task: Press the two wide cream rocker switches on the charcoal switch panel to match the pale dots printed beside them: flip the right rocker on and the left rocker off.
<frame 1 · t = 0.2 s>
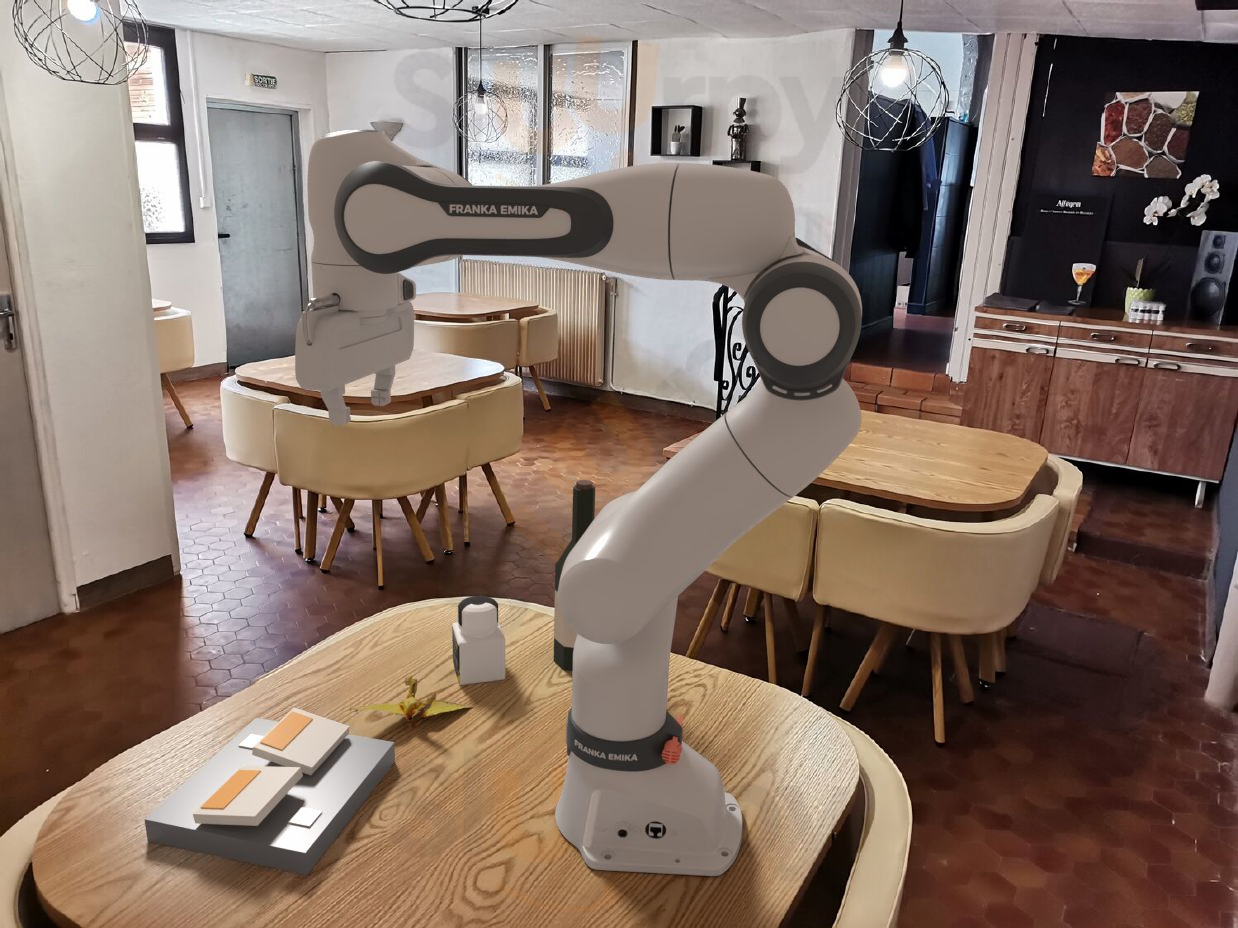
hand: (361, 413, 102), 47 cm above the table, tool pointing down, fingers open, 8 cm apart
right rocker: (302, 739, 114), point 5 cm above the table, hinge at -10.0°
left rocker: (249, 793, 104), point 5 cm above the table, hinge at 10.0°
medicine bottle: (478, 672, 141), on the table
wine bottle: (579, 660, 145), on the table
origami crane: (413, 721, 127), on the table
switch panel: (280, 798, 110), on the table
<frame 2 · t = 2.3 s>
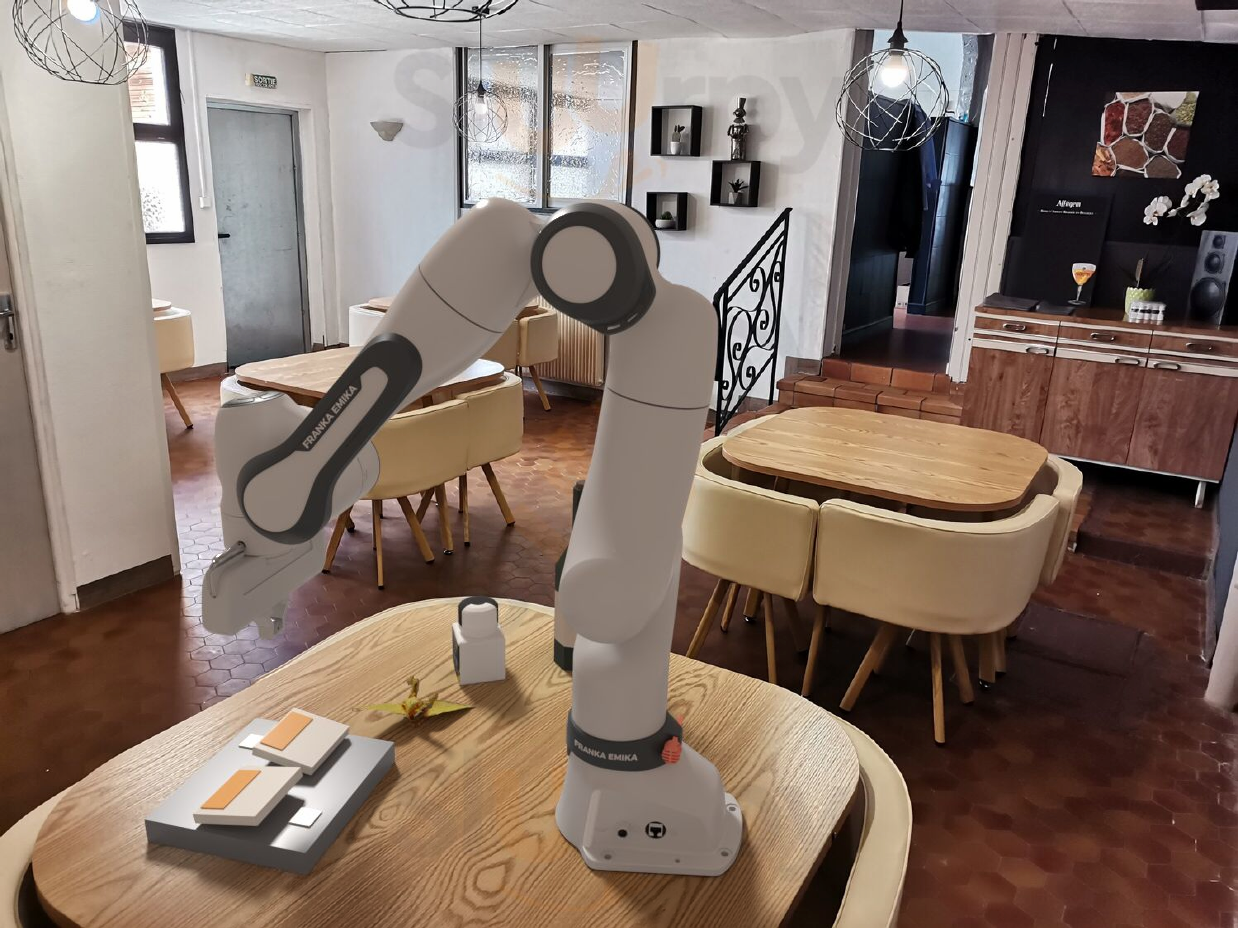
hand: (272, 634, 110), 19 cm above the table, tool pointing down, fingers closed
nothing on the table moved.
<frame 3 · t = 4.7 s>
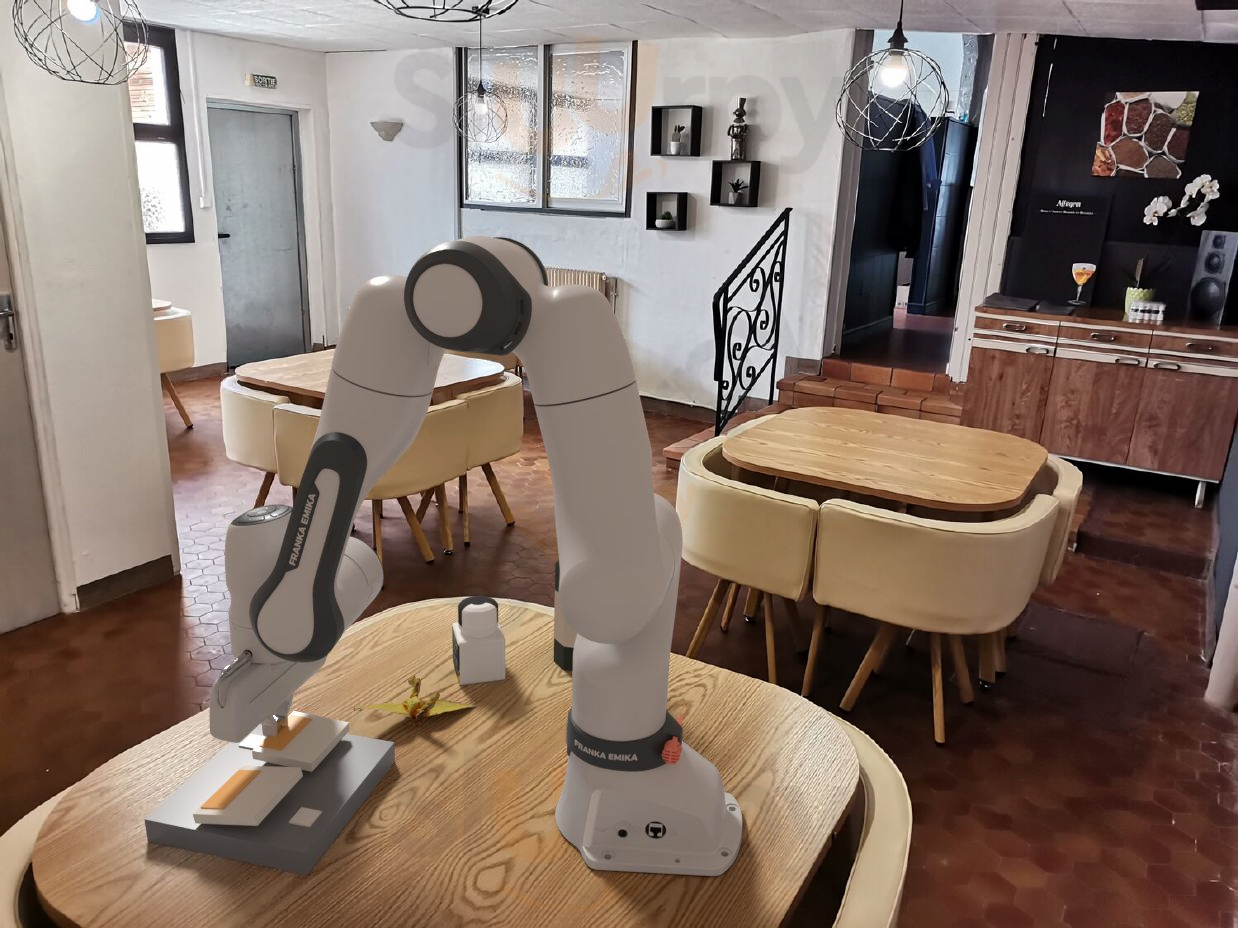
hand: (275, 731, 115), 5 cm above the table, tool pointing down, fingers closed, pressing on right rocker
right rocker: (302, 739, 114), point 5 cm above the table, hinge at -1.8°, touching gripper
everything else where it was.
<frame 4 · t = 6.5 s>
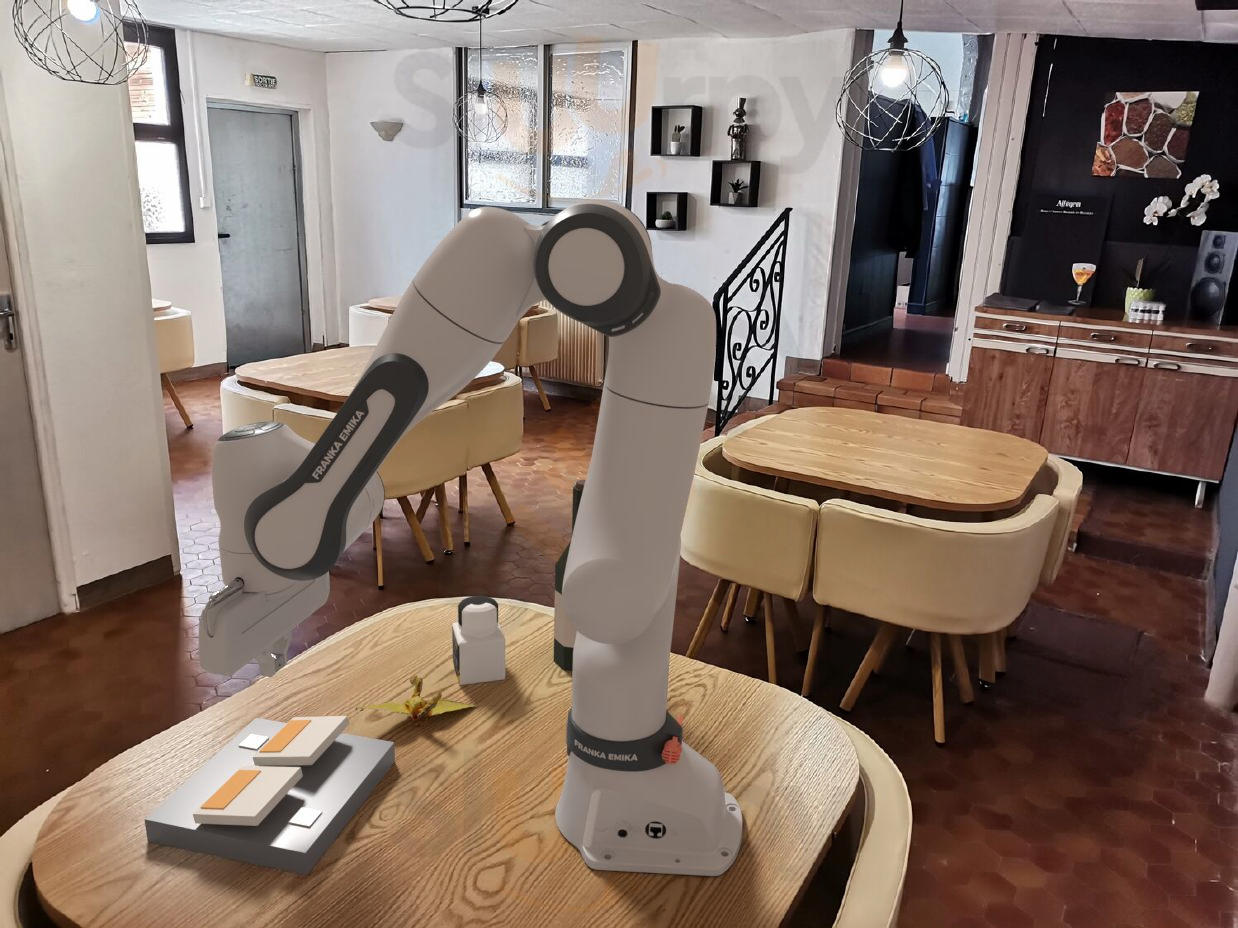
hand: (273, 670, 107), 17 cm above the table, tool pointing down, fingers closed
right rocker: (302, 739, 114), point 5 cm above the table, hinge at 11.7°
everything else where it was.
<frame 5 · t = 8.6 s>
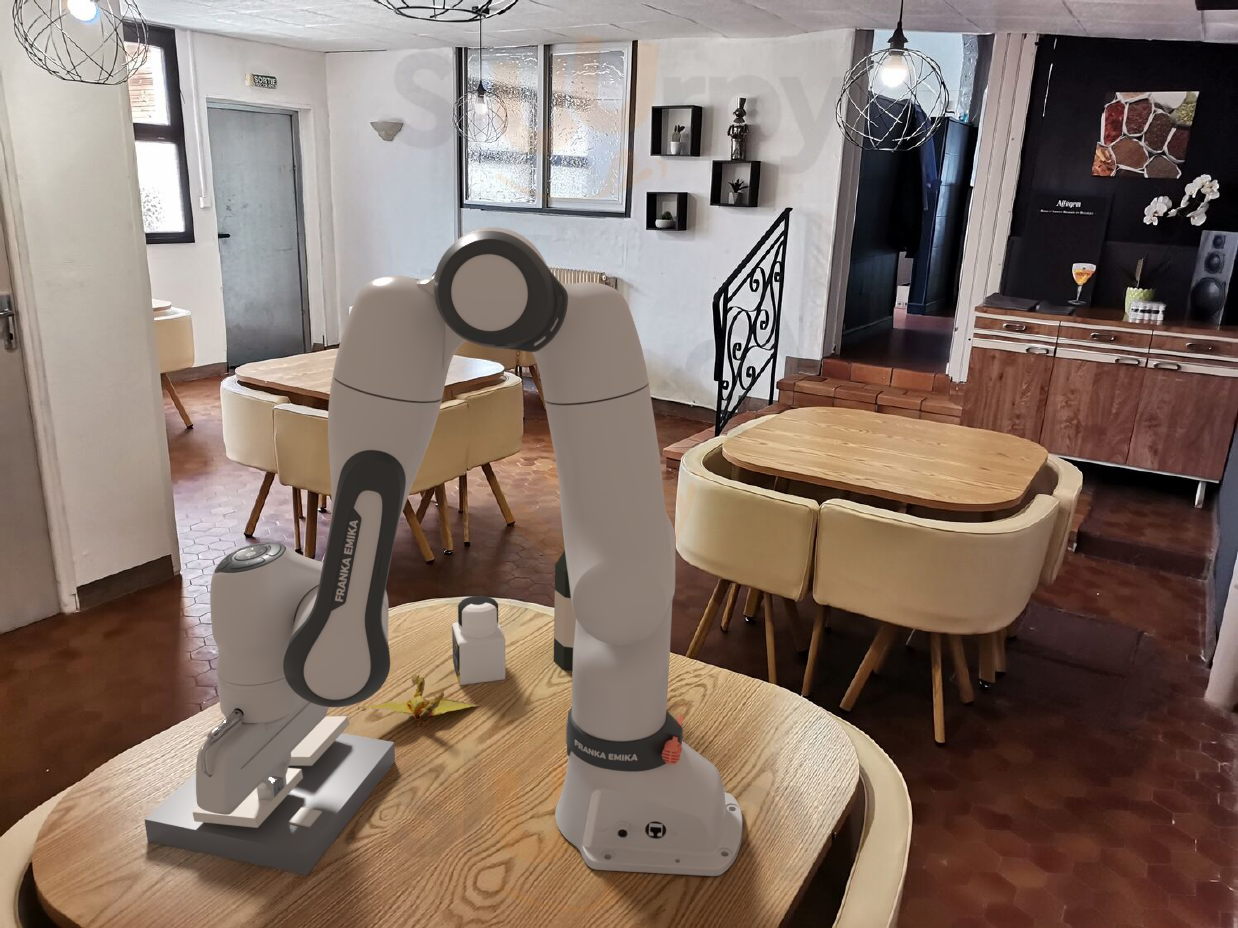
hand: (272, 794, 103), 5 cm above the table, tool pointing down, fingers closed, pressing on left rocker
right rocker: (302, 739, 114), point 5 cm above the table, hinge at 10.7°
left rocker: (249, 793, 104), point 5 cm above the table, hinge at 6.2°, touching gripper
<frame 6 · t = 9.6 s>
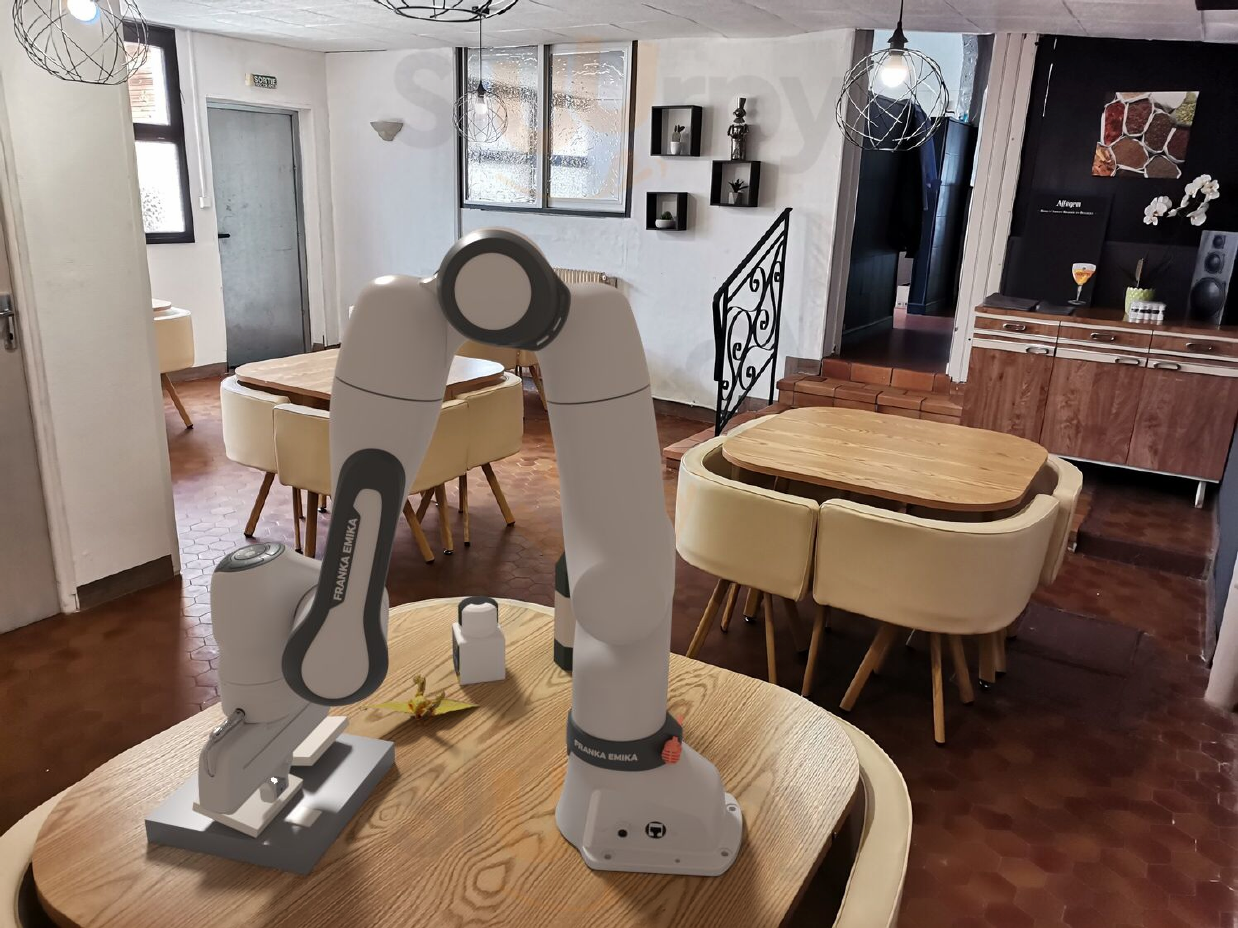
hand: (275, 794, 103), 5 cm above the table, tool pointing down, fingers closed
left rocker: (249, 793, 104), point 5 cm above the table, hinge at -14.1°
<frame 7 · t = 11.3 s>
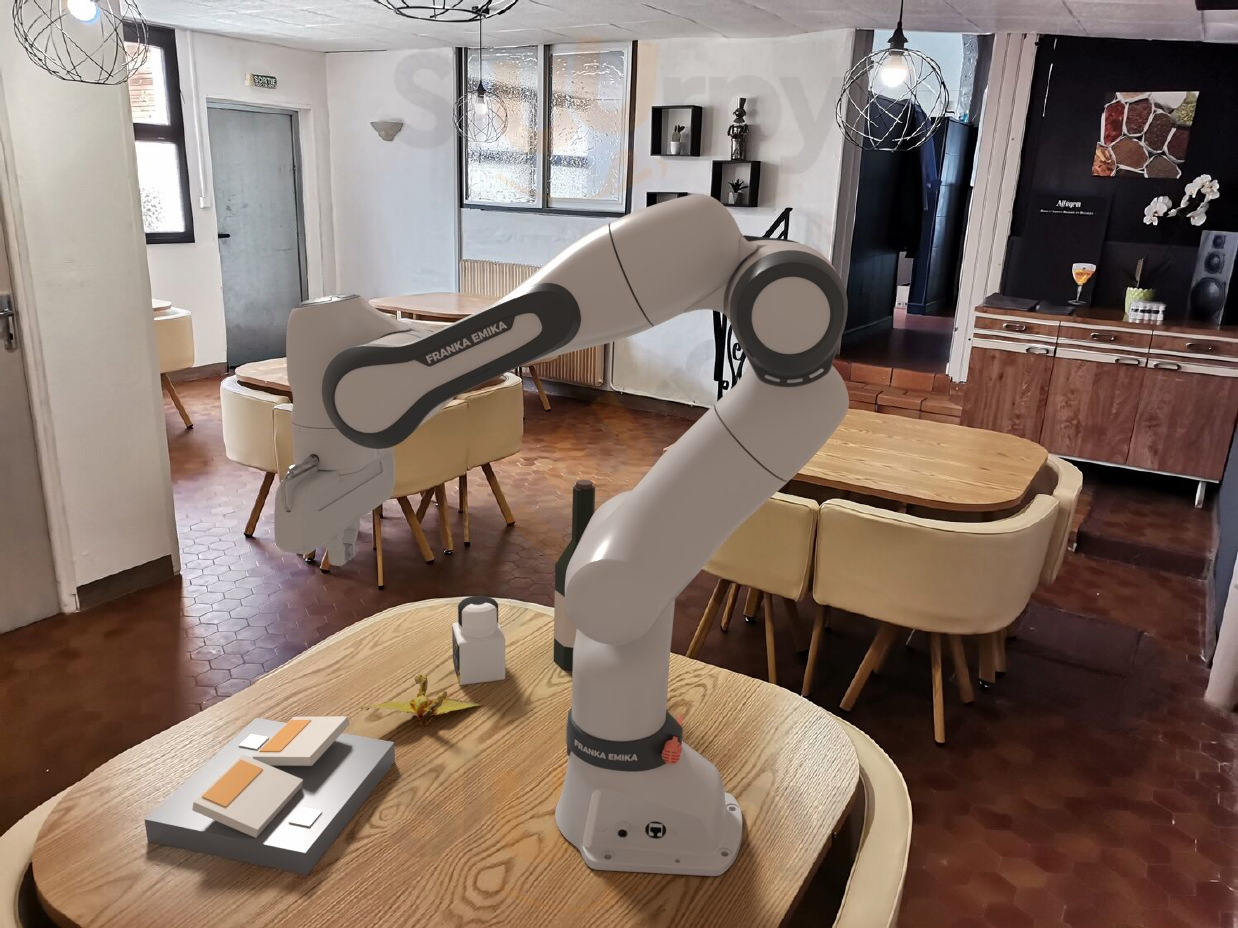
hand: (342, 560, 103), 31 cm above the table, tool pointing down, fingers closed
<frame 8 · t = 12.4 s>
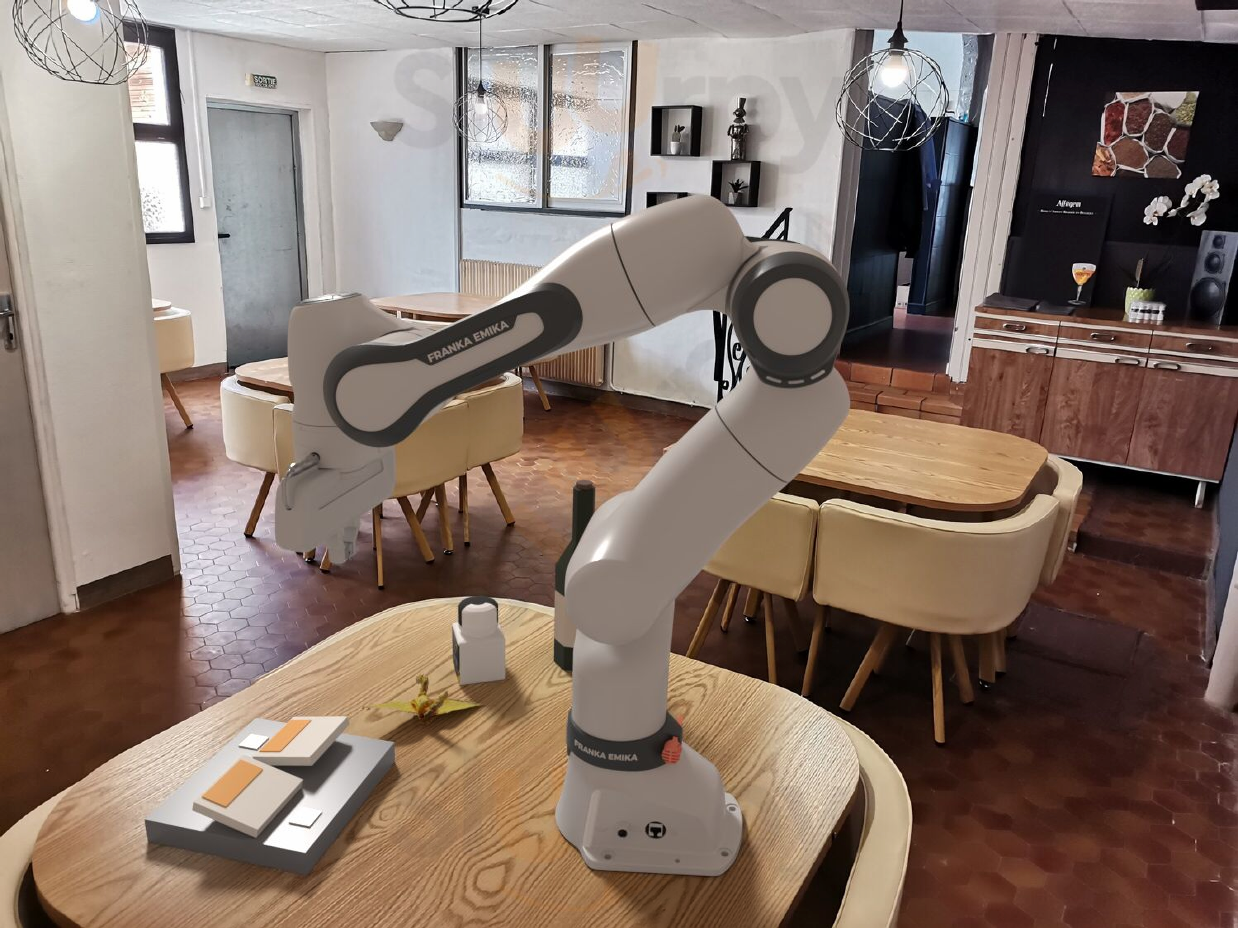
hand: (342, 558, 103), 31 cm above the table, tool pointing down, fingers closed
at the end: right rocker at +11° (first picture: -10°); left rocker at -14° (first picture: +10°) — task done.
